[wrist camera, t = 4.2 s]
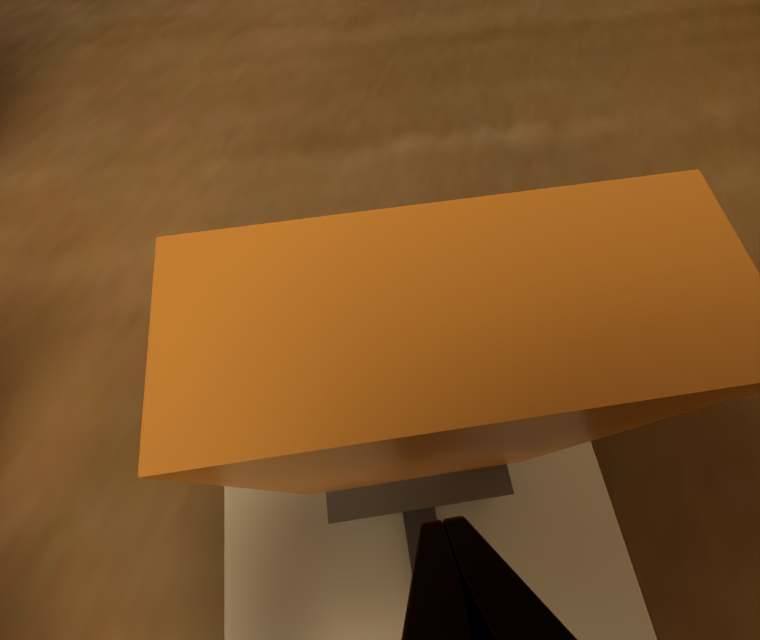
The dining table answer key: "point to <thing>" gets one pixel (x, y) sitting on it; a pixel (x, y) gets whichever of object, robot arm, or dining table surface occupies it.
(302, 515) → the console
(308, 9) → the dining table surface
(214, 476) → the fader
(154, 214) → the dining table surface
